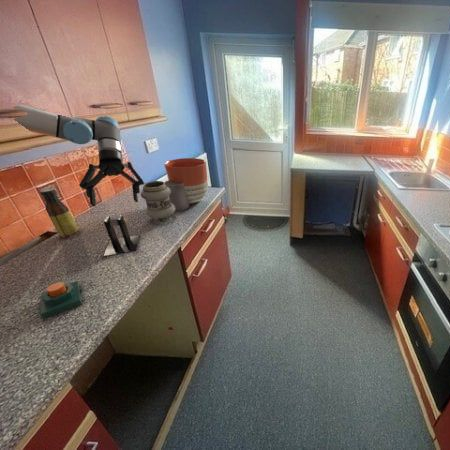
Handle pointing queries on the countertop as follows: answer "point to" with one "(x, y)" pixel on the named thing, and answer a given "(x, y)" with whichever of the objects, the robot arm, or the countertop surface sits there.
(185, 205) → the pillar candle
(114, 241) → the bracket
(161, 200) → the apothecary jar
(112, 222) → the lever
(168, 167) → the planter
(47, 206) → the sauce bottle
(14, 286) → the countertop surface
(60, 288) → the button
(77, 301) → the button housing
